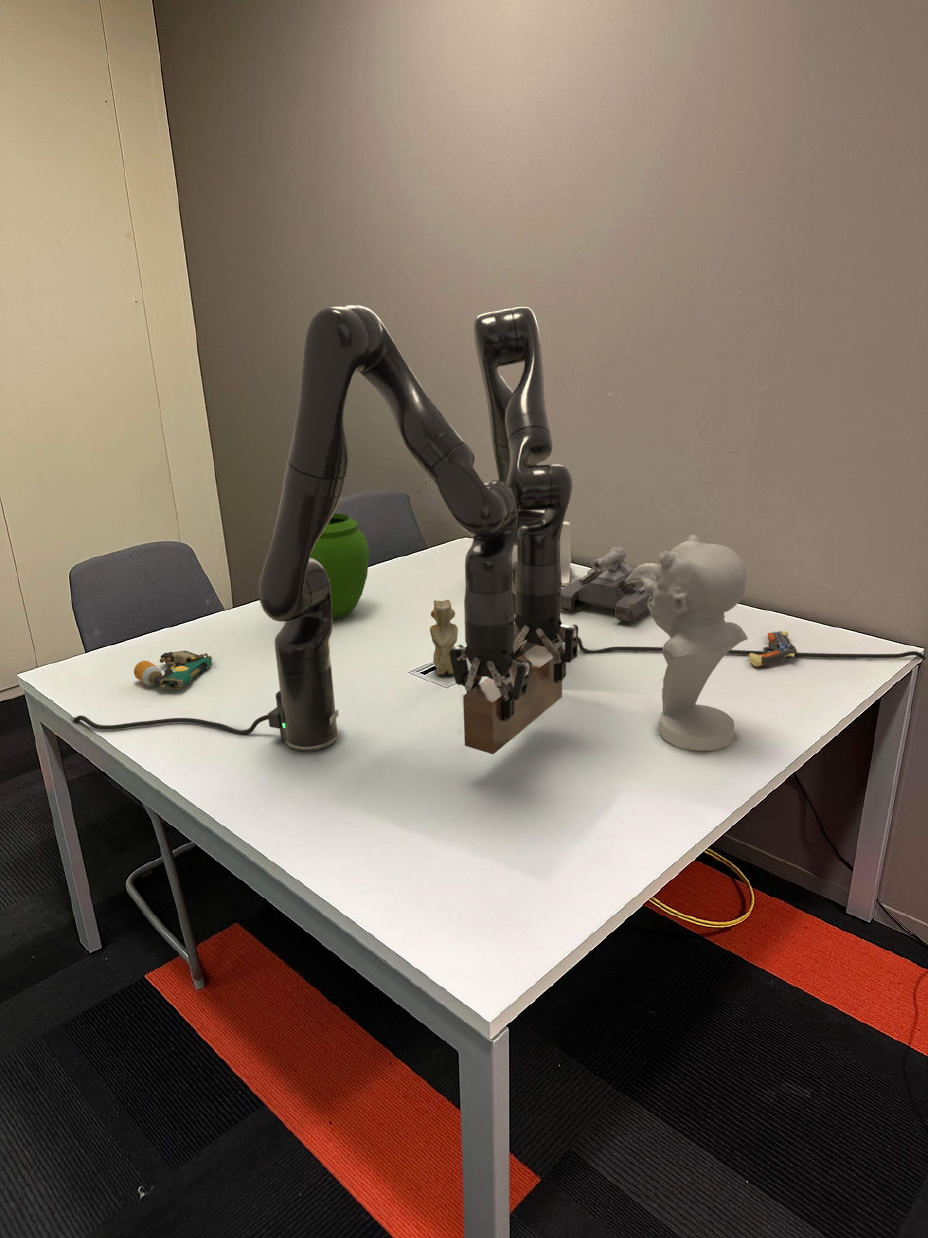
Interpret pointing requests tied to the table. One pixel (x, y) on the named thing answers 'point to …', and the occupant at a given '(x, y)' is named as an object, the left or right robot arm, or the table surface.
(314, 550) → the vase
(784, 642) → the toy gun
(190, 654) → the spray gun
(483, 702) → the bar
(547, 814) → the table surface
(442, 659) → the sculpture
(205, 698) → the table surface
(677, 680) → the bust sculpture
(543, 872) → the table surface
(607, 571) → the toy
